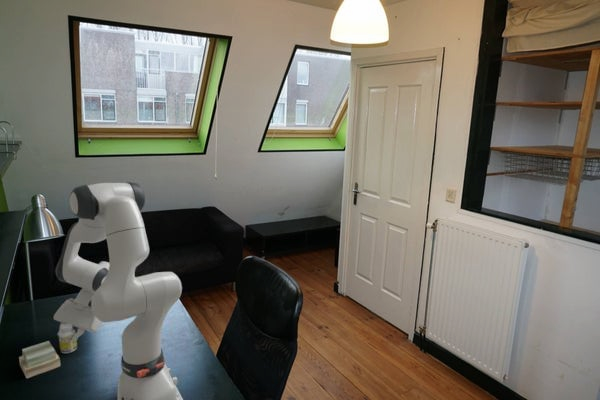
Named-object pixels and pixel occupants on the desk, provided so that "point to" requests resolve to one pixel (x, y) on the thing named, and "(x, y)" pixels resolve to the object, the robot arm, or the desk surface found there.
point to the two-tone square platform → (38, 359)
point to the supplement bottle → (67, 338)
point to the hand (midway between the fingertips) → (66, 338)
